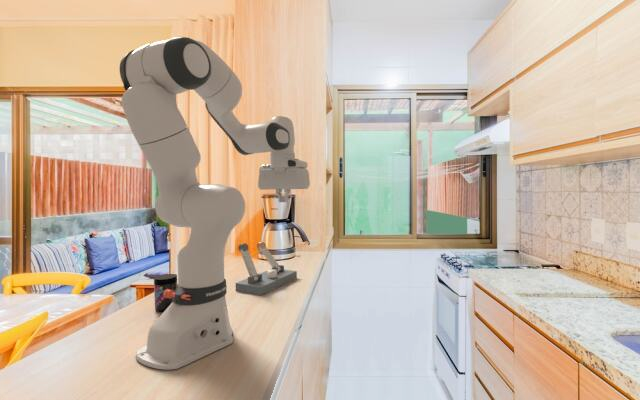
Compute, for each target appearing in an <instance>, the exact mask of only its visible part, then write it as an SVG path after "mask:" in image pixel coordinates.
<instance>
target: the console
mask: <svg viewBox="0 0 640 400" xmlns="http://www.w3.org/2000/svg"><path fill="white" fill-rule="evenodd" d="M279 266H281V267H282V271H280V272H278V268H272V267H271V268H270V269H269V270H272V269H274V270H277V278H268V270H266V271H265V270H264V271H262V272H260V273H257V274H258V275H259V277H260V280H258V281H256V282H254V277H250V276H247V278H244V279H243V280H239V281H238V282H235V292H239V293H245V294H252V295H256V296H257V295H258V296H264V295H265V294H267V293H269V292H272V291H274V290H275V289H277V288H279V287H282V286H283V285H287V284H288V283H291V282H292V281H294V280H296V279H297V277H298V275H297V274H298V273H297V272H298V271H297V270H291V269H290V270H289V269H285V265H282V264H279Z"/></svg>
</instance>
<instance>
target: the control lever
mask: <svg viewBox="0 0 640 400" xmlns="http://www.w3.org/2000/svg"><path fill="white" fill-rule="evenodd" d="M256 249H258V251H260V252H261V254H262V255H263V256H264V257H265V259H266V261H267V262H268V264H269V265H270V266H271V269H272V268H278V272H280V271H282V267H281V266H279V265H280V264H279V263H278V262H277V260H276V259H275V257H274V256H273V254H272V253H271V252H270V251H269V249H268V248H267V244H266V242H264V241H261V242H257V244H256Z"/></svg>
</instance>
